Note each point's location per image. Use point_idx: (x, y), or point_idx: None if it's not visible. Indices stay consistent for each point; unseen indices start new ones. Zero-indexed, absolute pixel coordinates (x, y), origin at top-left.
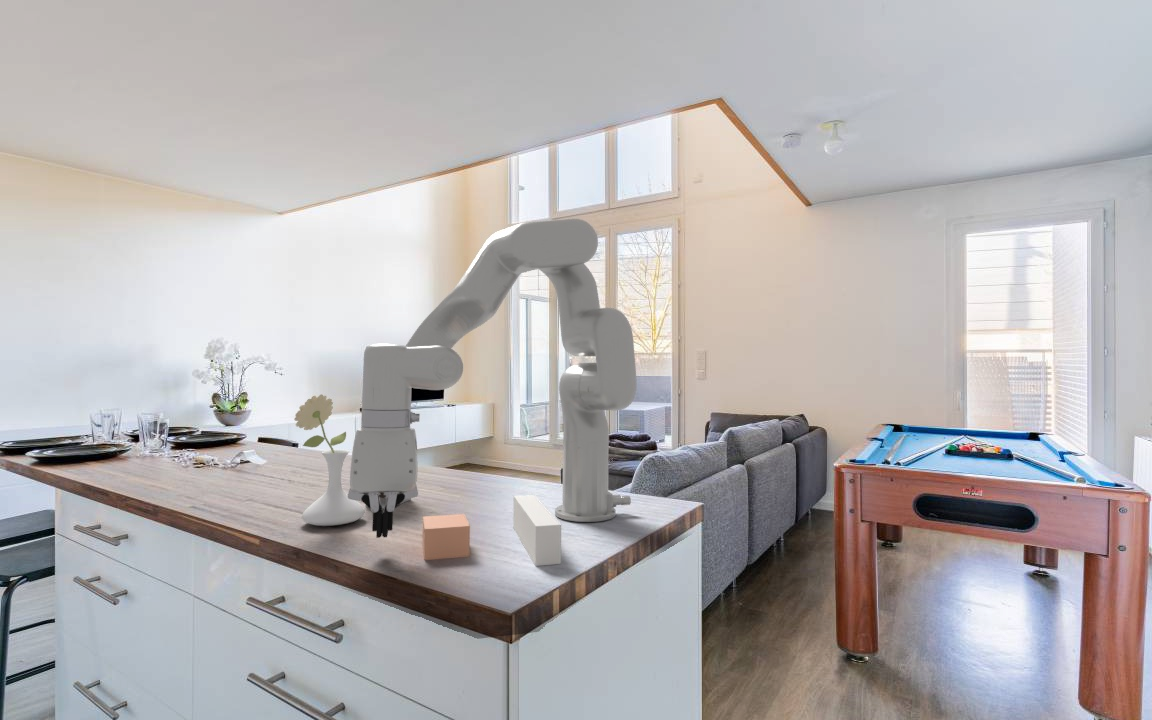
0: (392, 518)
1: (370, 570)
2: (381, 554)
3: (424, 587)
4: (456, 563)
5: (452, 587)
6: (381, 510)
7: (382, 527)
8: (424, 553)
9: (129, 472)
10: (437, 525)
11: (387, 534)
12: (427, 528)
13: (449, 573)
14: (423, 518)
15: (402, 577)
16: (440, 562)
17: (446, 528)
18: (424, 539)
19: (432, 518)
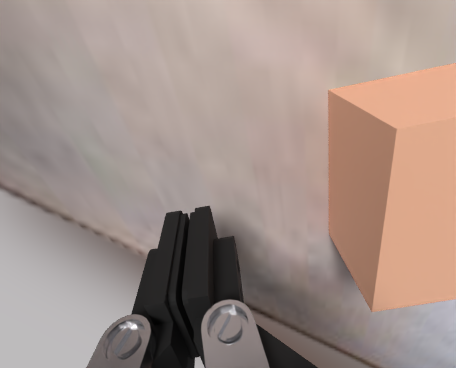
0: (241, 293)
1: None
2: (197, 186)
3: (324, 343)
4: None
5: (370, 343)
6: (176, 323)
7: (186, 231)
8: (336, 246)
9: None
10: (431, 276)
11: (216, 235)
12: (383, 305)
13: None
14: (393, 171)
15: (283, 313)
16: None
17: (453, 295)
18: (354, 278)
19: (443, 172)
